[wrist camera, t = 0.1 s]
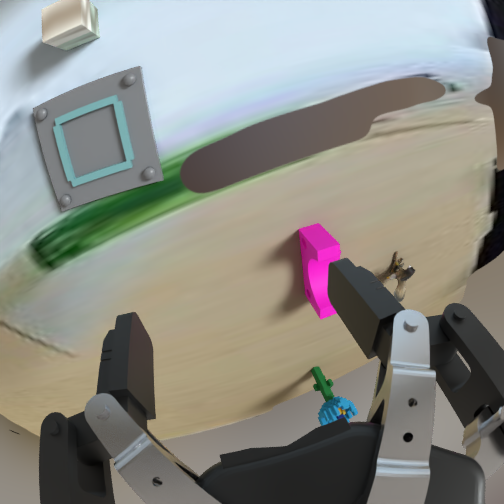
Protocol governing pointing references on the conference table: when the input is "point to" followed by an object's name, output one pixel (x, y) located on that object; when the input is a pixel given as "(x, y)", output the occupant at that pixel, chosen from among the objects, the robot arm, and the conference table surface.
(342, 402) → the toy flower
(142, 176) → the baseplate
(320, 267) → the toy block
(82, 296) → the conference table surface
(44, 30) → the beige block
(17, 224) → the conference table surface
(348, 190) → the conference table surface
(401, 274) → the eagle figurine
